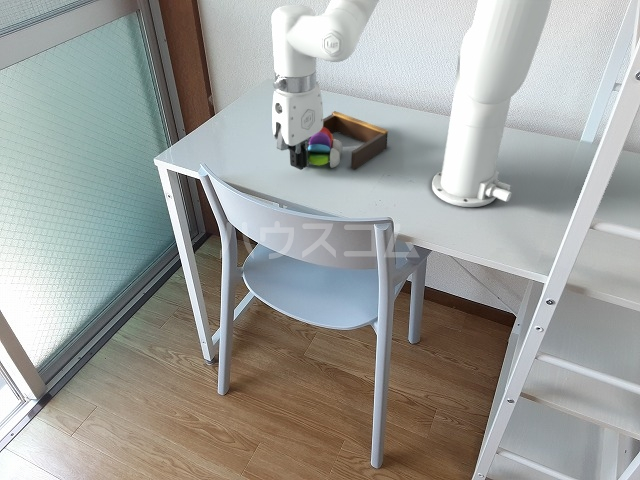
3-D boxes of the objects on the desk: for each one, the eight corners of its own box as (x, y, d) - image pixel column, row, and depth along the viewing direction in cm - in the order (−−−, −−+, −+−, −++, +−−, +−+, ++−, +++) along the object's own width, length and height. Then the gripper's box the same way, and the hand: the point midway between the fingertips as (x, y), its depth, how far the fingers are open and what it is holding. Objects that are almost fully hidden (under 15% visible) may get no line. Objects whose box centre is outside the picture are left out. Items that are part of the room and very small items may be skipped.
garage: (387, 148, 114) (388, 130, 111) (354, 170, 108) (355, 151, 105) (335, 128, 122) (335, 110, 119) (301, 147, 115) (300, 129, 112)
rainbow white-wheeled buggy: (343, 150, 114) (343, 120, 109) (337, 174, 106) (337, 142, 102) (305, 148, 115) (304, 118, 110) (297, 171, 108) (295, 140, 103)
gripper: (282, 98, 88) (286, 188, 100) (337, 72, 97) (335, 157, 108) (251, 87, 92) (259, 174, 103) (307, 62, 100) (309, 146, 112)
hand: (298, 165), depth 106 cm, fingers closed
